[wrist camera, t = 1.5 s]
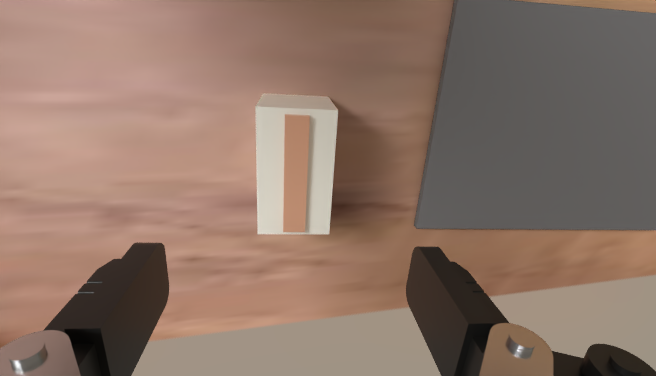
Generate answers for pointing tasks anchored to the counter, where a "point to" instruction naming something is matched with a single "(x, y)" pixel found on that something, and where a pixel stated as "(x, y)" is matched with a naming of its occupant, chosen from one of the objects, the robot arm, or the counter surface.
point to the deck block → (295, 163)
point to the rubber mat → (543, 120)
